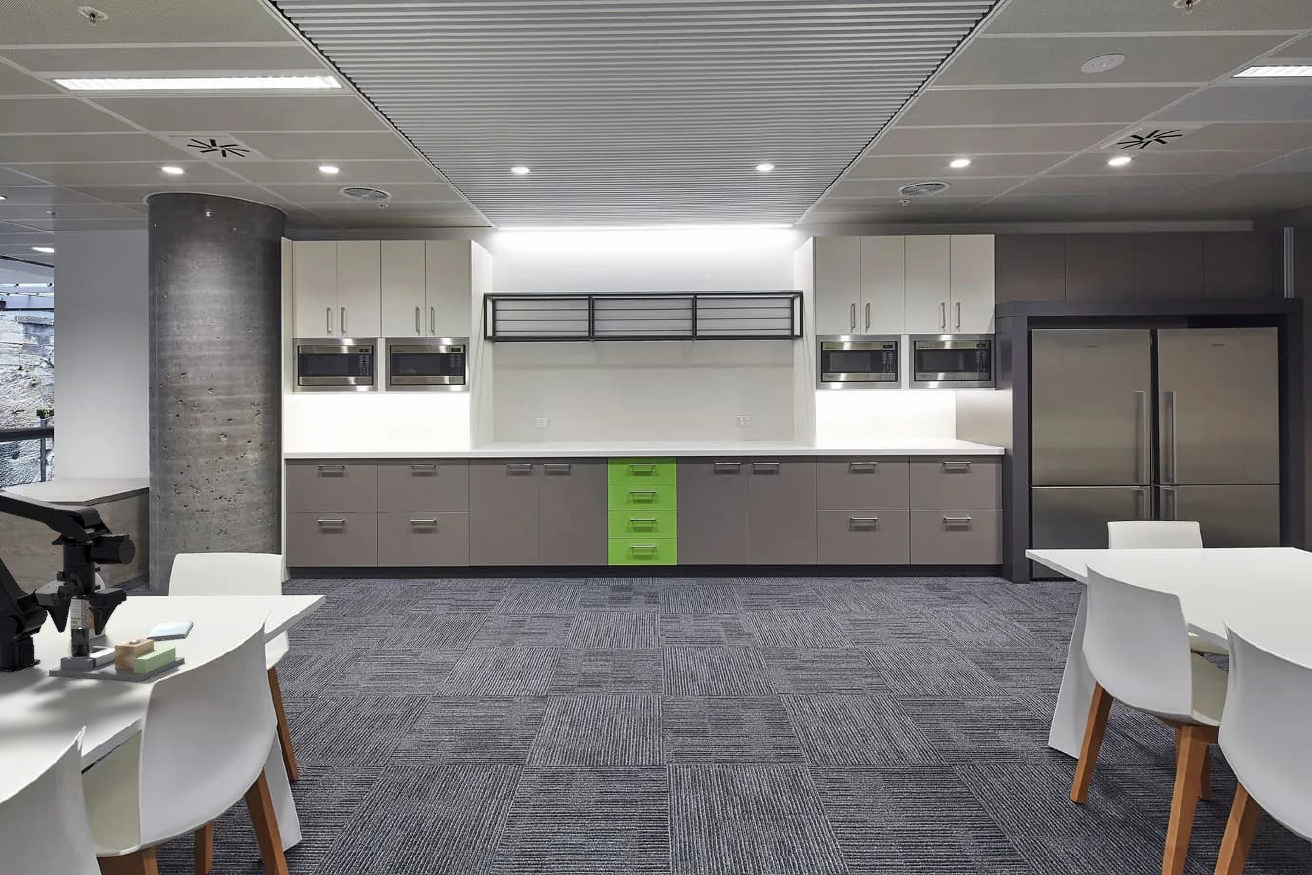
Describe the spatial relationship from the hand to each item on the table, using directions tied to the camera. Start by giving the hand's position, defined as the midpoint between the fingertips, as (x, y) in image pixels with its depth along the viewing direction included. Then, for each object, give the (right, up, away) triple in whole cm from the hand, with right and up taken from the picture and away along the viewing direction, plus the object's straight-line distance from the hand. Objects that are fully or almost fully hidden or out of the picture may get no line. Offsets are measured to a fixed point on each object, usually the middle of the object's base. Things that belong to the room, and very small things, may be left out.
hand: (79, 633), depth 161 cm
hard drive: (+4, -7, +25) cm, 26 cm away
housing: (+13, -7, -1) cm, 15 cm away
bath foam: (-14, -7, +20) cm, 25 cm away
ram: (+3, -6, 0) cm, 7 cm away
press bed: (+9, -7, -1) cm, 12 cm away
